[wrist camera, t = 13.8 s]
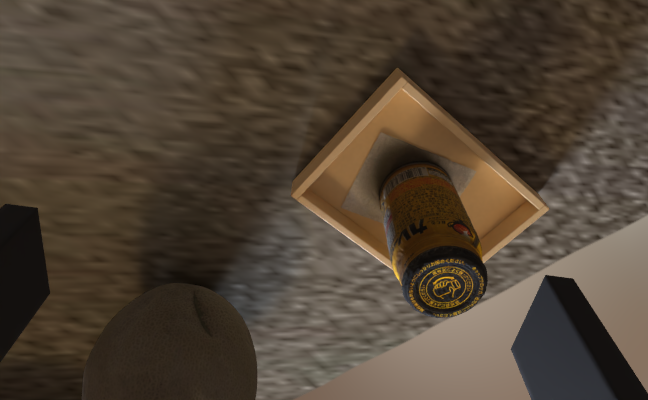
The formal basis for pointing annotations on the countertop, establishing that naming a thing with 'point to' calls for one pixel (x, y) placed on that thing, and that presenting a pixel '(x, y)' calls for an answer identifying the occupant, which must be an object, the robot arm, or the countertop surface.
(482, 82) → the countertop surface
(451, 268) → the condiment
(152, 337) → the grey round rock
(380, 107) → the tray
